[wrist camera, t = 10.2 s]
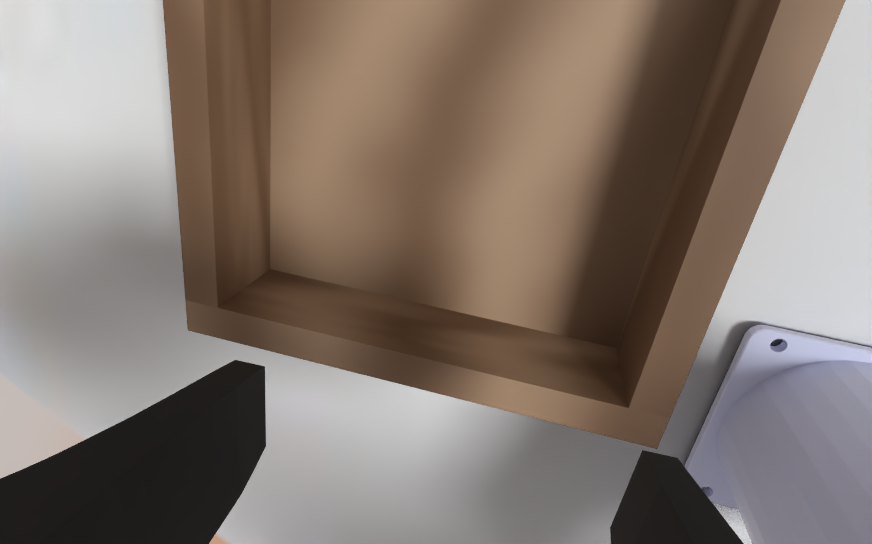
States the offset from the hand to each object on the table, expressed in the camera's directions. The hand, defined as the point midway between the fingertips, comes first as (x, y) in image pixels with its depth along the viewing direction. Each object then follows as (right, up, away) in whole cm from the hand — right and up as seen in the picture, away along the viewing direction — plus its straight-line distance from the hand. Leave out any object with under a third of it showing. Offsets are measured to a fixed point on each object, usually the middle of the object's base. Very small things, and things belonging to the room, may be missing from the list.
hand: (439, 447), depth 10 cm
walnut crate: (+1, +8, +8) cm, 11 cm away
